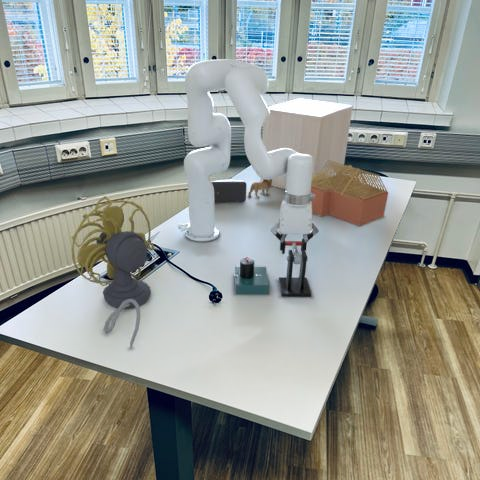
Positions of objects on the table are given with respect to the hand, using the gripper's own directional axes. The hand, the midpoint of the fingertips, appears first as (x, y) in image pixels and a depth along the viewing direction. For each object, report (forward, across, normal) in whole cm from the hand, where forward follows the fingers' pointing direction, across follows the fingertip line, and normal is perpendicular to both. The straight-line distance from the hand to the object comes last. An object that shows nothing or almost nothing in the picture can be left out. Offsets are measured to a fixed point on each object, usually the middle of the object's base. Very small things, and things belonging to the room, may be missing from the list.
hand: (292, 251), depth 149 cm
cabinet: (+8, -17, -98) cm, 100 cm away
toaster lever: (-1, 0, +5) cm, 5 cm away
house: (+8, -29, -55) cm, 63 cm away
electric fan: (+8, +47, +22) cm, 52 cm away
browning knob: (+5, +15, +7) cm, 17 cm away
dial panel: (+8, +14, +7) cm, 17 cm away
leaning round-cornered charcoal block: (+8, +21, -65) cm, 69 cm away
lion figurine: (+8, +6, -75) cm, 76 cm away
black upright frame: (+8, 0, +10) cm, 13 cm away
